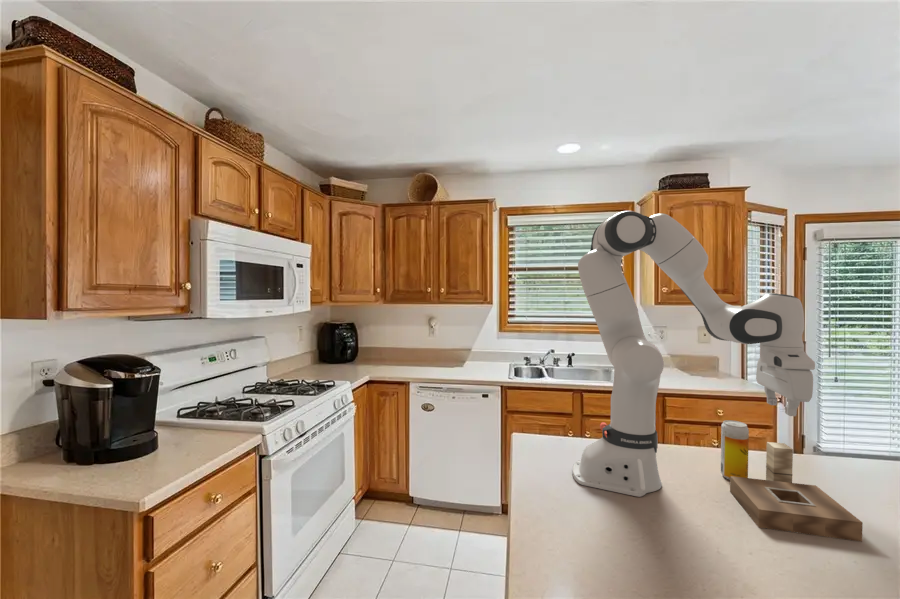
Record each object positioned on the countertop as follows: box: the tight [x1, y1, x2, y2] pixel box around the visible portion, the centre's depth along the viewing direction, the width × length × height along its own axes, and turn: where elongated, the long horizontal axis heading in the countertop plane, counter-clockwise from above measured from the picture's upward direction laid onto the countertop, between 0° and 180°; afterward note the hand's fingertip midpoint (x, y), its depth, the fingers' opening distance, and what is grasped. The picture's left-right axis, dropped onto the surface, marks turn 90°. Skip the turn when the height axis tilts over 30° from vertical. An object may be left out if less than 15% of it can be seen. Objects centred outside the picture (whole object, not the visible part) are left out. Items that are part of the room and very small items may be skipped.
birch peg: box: [765, 441, 794, 483], centre depth 105 cm, size 4×4×11 cm
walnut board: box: [729, 476, 863, 543], centre depth 92 cm, size 18×16×4 cm
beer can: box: [720, 419, 750, 481], centre depth 110 cm, size 6×6×15 cm
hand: (781, 409), depth 104 cm, fingers open, 8 cm apart
